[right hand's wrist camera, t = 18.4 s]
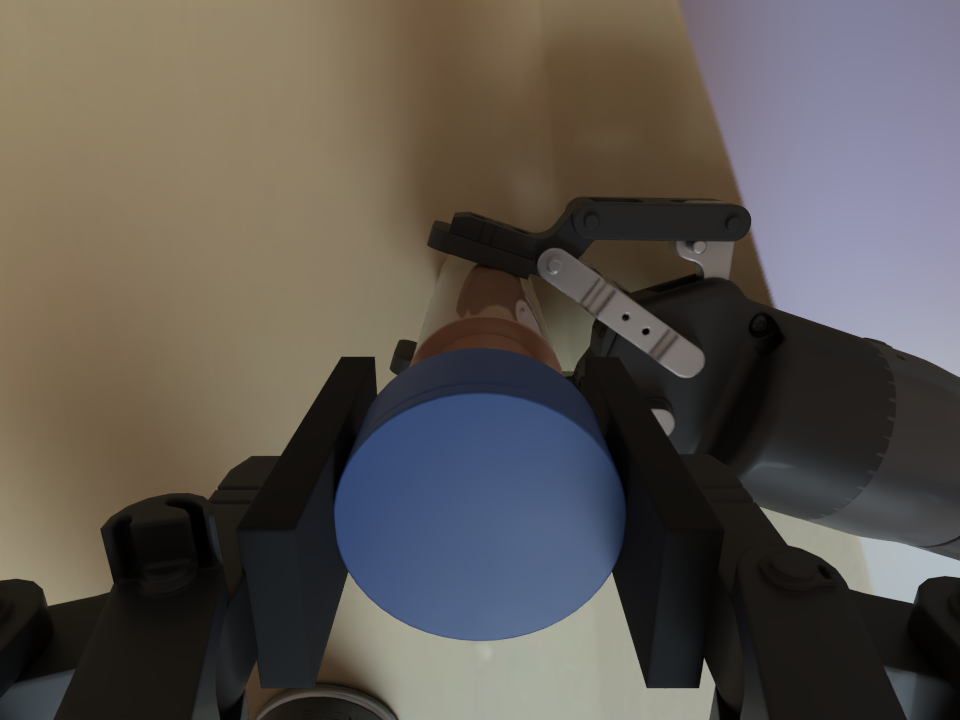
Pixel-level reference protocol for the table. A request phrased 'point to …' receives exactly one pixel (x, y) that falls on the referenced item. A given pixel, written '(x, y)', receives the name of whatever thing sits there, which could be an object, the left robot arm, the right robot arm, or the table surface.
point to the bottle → (484, 314)
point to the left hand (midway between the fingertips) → (414, 296)
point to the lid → (480, 497)
